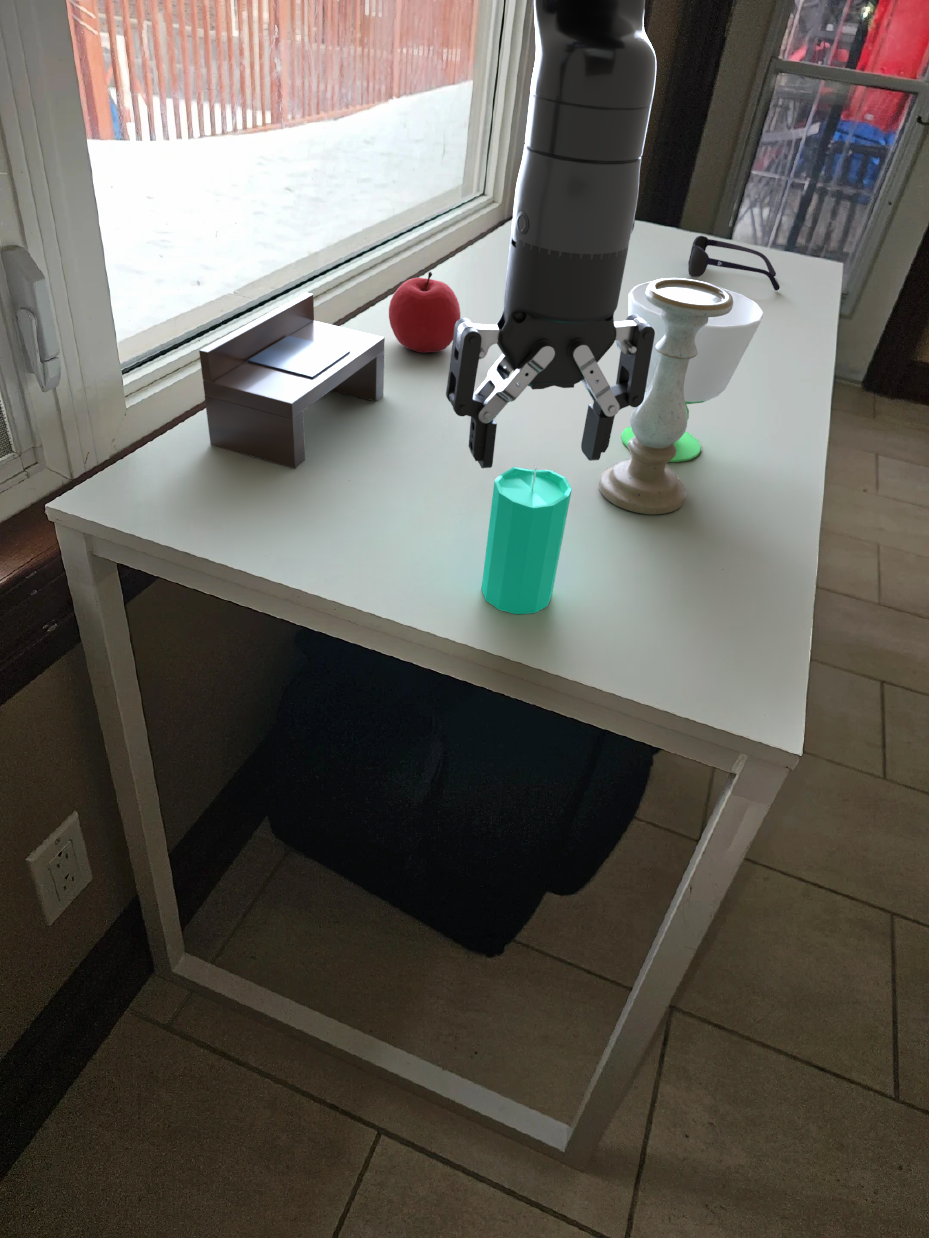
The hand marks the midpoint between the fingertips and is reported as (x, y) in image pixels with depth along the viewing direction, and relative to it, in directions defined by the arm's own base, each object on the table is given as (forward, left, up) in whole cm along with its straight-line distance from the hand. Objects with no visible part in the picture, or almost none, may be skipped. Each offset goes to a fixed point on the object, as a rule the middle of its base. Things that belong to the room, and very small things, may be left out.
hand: (537, 459), depth 63 cm
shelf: (-14, +34, -13) cm, 39 cm away
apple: (+4, +53, -13) cm, 55 cm away
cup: (+25, +24, -13) cm, 37 cm away
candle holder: (+18, +14, -13) cm, 26 cm away
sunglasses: (+66, +81, -13) cm, 105 cm away
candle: (0, 0, -13) cm, 13 cm away
